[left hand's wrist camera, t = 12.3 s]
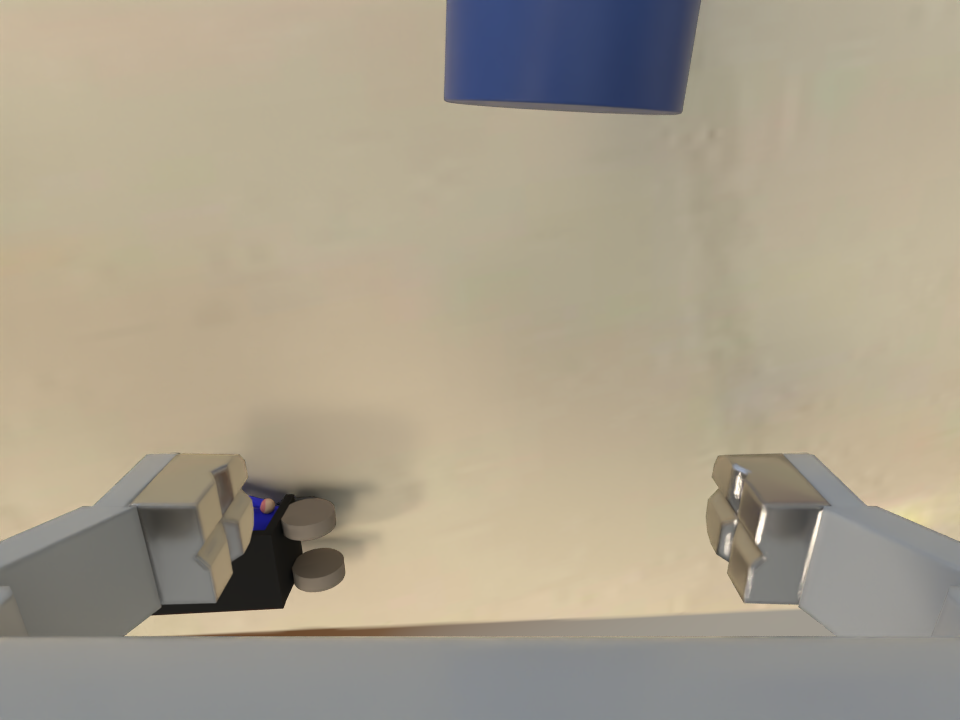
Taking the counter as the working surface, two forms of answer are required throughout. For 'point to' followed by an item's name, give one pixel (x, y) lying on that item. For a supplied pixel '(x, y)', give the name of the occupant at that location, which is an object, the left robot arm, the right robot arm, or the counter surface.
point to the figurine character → (277, 558)
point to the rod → (570, 54)
